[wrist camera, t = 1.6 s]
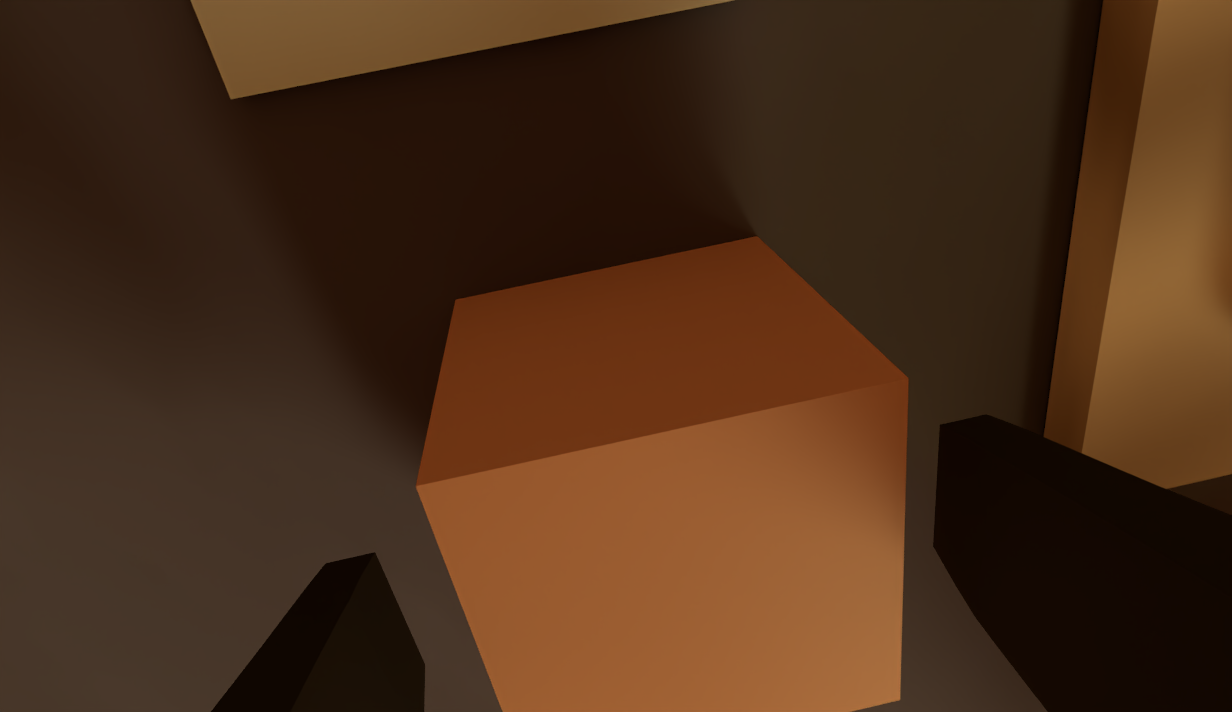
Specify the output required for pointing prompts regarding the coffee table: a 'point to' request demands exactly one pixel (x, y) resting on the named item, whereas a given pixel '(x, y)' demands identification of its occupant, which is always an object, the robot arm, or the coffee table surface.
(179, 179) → the coffee table surface
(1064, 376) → the plate
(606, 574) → the terracotta cube
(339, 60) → the card
